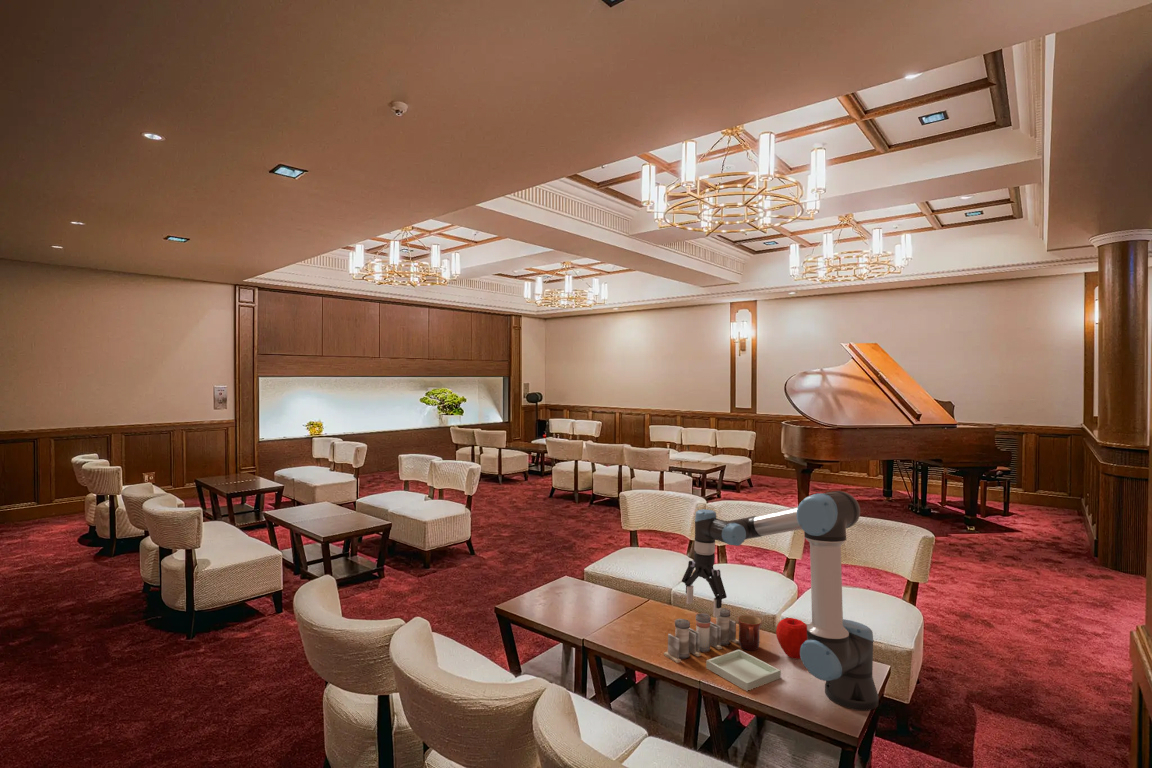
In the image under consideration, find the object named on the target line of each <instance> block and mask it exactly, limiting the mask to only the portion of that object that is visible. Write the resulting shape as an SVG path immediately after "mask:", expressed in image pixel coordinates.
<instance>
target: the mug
mask: <svg viewBox="0 0 1152 768" xmlns="http://www.w3.org/2000/svg"><path fill="white" fill-rule="evenodd" d="M737 622H738V629H739V630H738V640H739V643H738V644H739V646H740V648H741V649H743V650H746V651H750V652H751V651H757V650H758V649H759V647H760V643H761V642H760V629H761V626H762V623H763V622H762V619H761V618H759V617H756V616H754V615H750V614H749V615H747V614H743V615H739V616H737Z"/></svg>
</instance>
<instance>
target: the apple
mask: <svg viewBox="0 0 1152 768" xmlns="http://www.w3.org/2000/svg"><path fill="white" fill-rule="evenodd" d="M807 626H808V625H807V623H805V622H804V621H802V620H801V619H797V618H793V617H785V618H783V619H781V620H780V621H778V623H777V625H776V630H775V634H776V639H777V642H778V644H779V645H780V647H781V649H782V651H783V652H784V653H785V655H786V656H788V658H791V659H794V660H798V659H800V660H801V657H800V648H801V646H802V644H803V643H804V642H805V641H806V640H807Z"/></svg>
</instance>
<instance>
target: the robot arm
mask: <svg viewBox="0 0 1152 768" xmlns="http://www.w3.org/2000/svg"><path fill="white" fill-rule="evenodd" d="M860 516H861V507H860V504H859V502H858V501H857V499H856V498H855V497H854V496H853V495H851V494H850V493H848V492H845V491H843V490H834V491H829V492H828V491H827V492H823V493H822V492H821V493H820V492H819V493H818V492H817V493H815V494H811V495H808V496H806V497H805V498H803V500H801V502H799V504H798V506H794V507H789V508H783V509H779V510H776V511H770V512H766V513H762V514H757V515H753V516H748V517H743V518H737V519H732V520H723V519H720V518H717V513H716V511H714V510H712V509H706V508H705V509H704V508H702V509H697V510H696V511H695V516H694V517H695V518H694V549H693V550H694V552H693V556H694V557H693V559H692V560H689V561H688V563H687V564H688V565H687V568H686V570H685V573H684V575H683V577H682V579H681V582H682V583H684V585H685V594H686V605H690V604H693V603H694V585H693V584H694V583H695V581H697V579H698V578H699V577H700V578H703V579H704V580H705V581H706V582H707V583H708V584H709V588H710V589H711V591H712V593H713V595H714V598H713V606H712V607H713V609H712V610H713V611H712V613H713V614H712V615H713V617H714V618H716V617H717V616H720V608H723V607H722V605H723V604H722V603H723V602H722V601H723V599H727V593H726V589H725V587H724V583H723V580H722V576H721V575H722V574H721V570H720V569H715V568H714V565H715V564H716V563H715V561H716V560H715V559H716V556H715V552H716V541H718V542H721V543H724V544H727V545H730V546H736V547H739V546H741V545H742V544H743V543H744V542H745V541H746V540H750V539H755V538H756V539H757V538H759V537H767V536H769V535H770V536H771V535H776V534H782V533H789V532H792V531H793V532H794V531H800V530H802V531H803V532H804V533H803V534H804V536H803V537H804V539H806V541H808V543H809V558H810V559H809V561H810V562H809V563H810V587H811V588H810V591H811V592H810V593H811V597H810V598H811V600H810V601H811V622H810V623H808V625H807V640H806V641H805V642H804V643H803V644H802V646H801V648H800V657H801V658H800V661H801V662H802V664H803V666H804V668H806V669H807V671H808V672H809V674H811V675H812V676H813V677H815V678H816V679H818V680H820V681H823V682H825V683H824V693H825V695H826V697H827V698H828V699H829V700H831V701H832V702H834V703H836V704H837V705H840V706H842V707H844V708H847V709H850V710H856V711H871V710H874V709H876V708H877V707H878V706H879V700H880V699H879V693H878V691H877V688H876V685H875V684H876V683H875V680H874V677H873V671H874V670H873V667H874V665H873V664H874V642H875V641H874V633H873V630H872V629H871V628H870V627H869V626H868V625H865V624H863V623H860V622H857V621H854V620H850V619H844V615H843V614H844V611H843V608H844V607H843V581H842V580H843V579H842V576H843V575H842V572H843V571H842V545H843V544H845V543H846V541H847V529H849V528H851V527H853V526H854V525H856V523H857V522H858V520H859V519H860Z"/></svg>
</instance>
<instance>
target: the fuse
mask: <svg viewBox="0 0 1152 768" xmlns="http://www.w3.org/2000/svg"><path fill="white" fill-rule="evenodd" d="M711 618H712V617H711V615H710V614H707V613H705V612H704V613H703V612H702V613H701V612H700V613H696V614H695V621H696V622H695V625H696V626H695V627H696V628H695V631H697V632H699V633H700V649H699V653H708V652H710V651H711V645H710V644H709V640H710V622H712V619H711Z"/></svg>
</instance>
